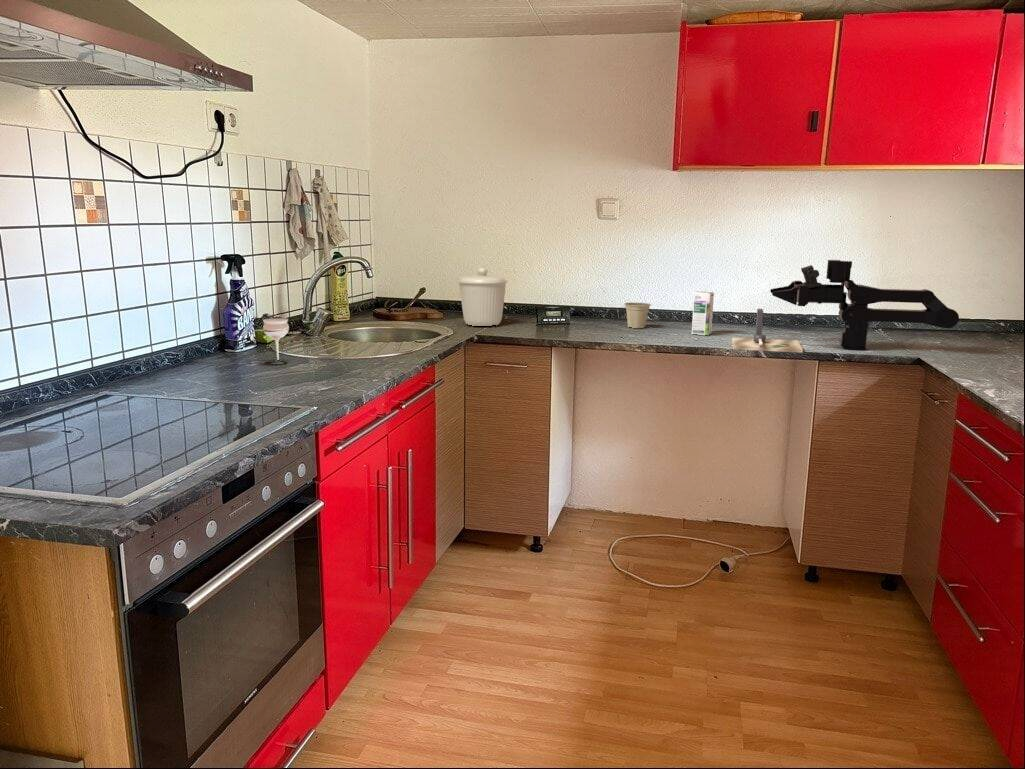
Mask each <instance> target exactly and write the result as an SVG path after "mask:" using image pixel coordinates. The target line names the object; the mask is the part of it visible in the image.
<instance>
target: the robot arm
mask: <svg viewBox="0 0 1025 769" xmlns="http://www.w3.org/2000/svg"><path fill="white" fill-rule="evenodd" d="M852 266H853V261H850V260H840V259H828V260H827V267H826V268H827V269H826V276H825V279H828V280H829V283H833V284H829V283H827V284H823V283H821V282H818V277H819V276H820V272H819V270H818V269H814V268H815V267H814V266H813V265H812V264H811V265H807V266H804V267H801V268H800V269H801V272H802V274H803V278H804V281H802V280H793V281H791V283H790V284H788V285H786V286H780V287H775V288H770V293H771V296H773V297H775V298H778V299H780V300H783V301H785V302H786V303H790V304H792V305H794V306H798V307H805V306H807V305H808V304H810V303H811V304H815V303H816V304H818V305H819V304H820V305H822V304H838V309H839V311H838V316H839V318H840V319H841V321H842V322H843V323H844V325H845V326H844V327H843V331H841V333H840V336H841V337H840V346H841V348H842V349H843V350H857V351H859V350H860V351H867V350H868V349H867V346H866V345H867V337H868V328H869V325H870V324H869V323H872V322H884V323H908V324H925V325H929V326H933V327H938V328H942V329H951V328H954V327H955V326H956V325H957V324H958V323H959V320H960V317H959V316H960V315H959V313H958V312H957V311H956V310H955V309H952V308H950V307H948V306H947V305H946V304H945V303H943V302H942V301H941V299H940V298H938V297H937V296H936V295H935V293H934V292H933V291H932V290H930V289H926V288H925V289H901V288H900V289H899V288H898V289H895V288H894V289H893V288H891V289H890V288H880V287H879V288H878V287H874V286H869V285H864V284H860V283H859V284H858V283H855V282H854V280H852V279H851V271H852ZM845 288H846V291H845ZM847 299H848V300H849V301H850V303H848V302H847ZM882 302H883V303H910V304H911V303H913V304H915V303H916V304H922V305H923V306H924V308H925V309H903V308H902V309H898V308H871V307H869V305H872V304H877V303H882Z"/></svg>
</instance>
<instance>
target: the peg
mask: <svg viewBox="0 0 1025 769" xmlns="http://www.w3.org/2000/svg"><path fill="white" fill-rule="evenodd" d="M763 316H764V310H763V308H757V309H756V319H755V320H756V323H755V333H754V334H753V338H754V340H753V341H754V342H759V345H763V342H765V341H766V339H767V335H766V334H762V332H763V318H764V317H763Z"/></svg>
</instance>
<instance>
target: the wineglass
mask: <svg viewBox="0 0 1025 769" xmlns="http://www.w3.org/2000/svg"><path fill="white" fill-rule="evenodd" d="M262 321H263V326H262V329H263V333H264V334H265V335H267V337H269V338H271V339H273V340H274V341H275V349H276V350H275V351H276V361H277V360H280V355H279V354H280V353H279V352H280V351H279V349H280V348H279V345H280V344H279V341H280V340H281V339H282V338H283V337H285V336H286V335H287V334H288V333H289V331H290V330H289V329H290V325H289V323H288V321H289V318H284V317H283V318H282V317H281V318H280V317H274V318H273V317H272V318H265V319H262Z"/></svg>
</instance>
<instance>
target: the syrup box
mask: <svg viewBox="0 0 1025 769" xmlns="http://www.w3.org/2000/svg"><path fill="white" fill-rule="evenodd" d="M714 298H715V291H695V292H693V300H692V301H693V302H692V321H691V322H692V323H691V335H692V334H697V336H705V335H708V336H709V334H710V335H711V334H712V328H713V327H712V326H713V316H714V314H713V313H714V312H713V311H714Z"/></svg>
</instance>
